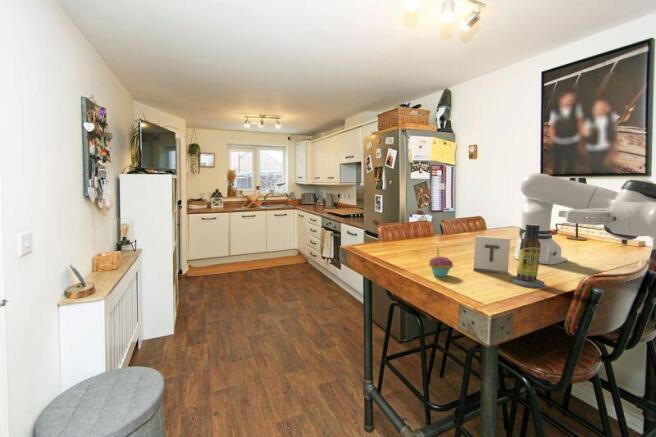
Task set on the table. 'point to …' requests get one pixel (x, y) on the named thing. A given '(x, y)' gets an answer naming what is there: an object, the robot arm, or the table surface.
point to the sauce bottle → (529, 254)
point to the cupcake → (440, 265)
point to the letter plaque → (491, 254)
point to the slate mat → (527, 282)
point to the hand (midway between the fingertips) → (569, 212)
